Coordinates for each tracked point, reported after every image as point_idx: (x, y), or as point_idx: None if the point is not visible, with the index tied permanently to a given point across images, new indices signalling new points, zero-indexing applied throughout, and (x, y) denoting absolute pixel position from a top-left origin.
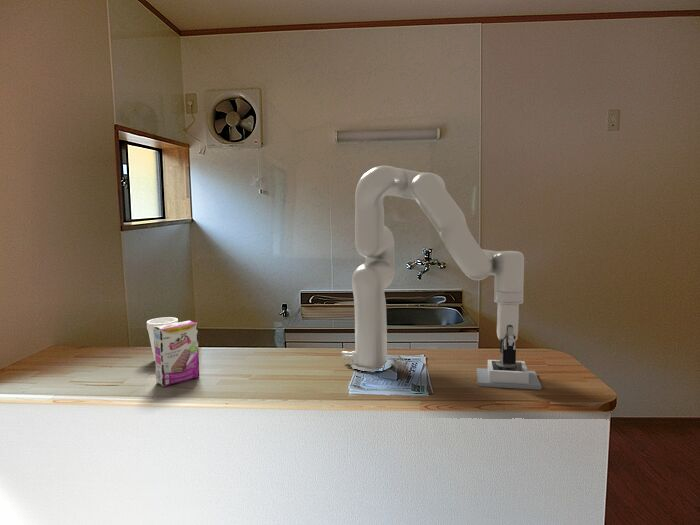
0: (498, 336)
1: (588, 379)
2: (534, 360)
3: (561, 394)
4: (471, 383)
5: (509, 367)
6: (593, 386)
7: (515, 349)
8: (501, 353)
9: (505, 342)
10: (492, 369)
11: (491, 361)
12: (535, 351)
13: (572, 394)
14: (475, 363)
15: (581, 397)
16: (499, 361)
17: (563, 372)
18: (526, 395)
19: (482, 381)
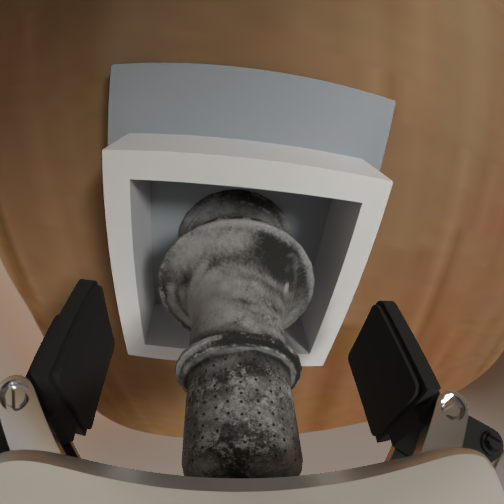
0: (21, 493)
1: None
2: (441, 351)
3: (111, 369)
4: (165, 29)
5: (160, 294)
6: None
7: (77, 432)
8: (236, 319)
9: (13, 447)
10: (140, 174)
11: (348, 199)
12: (491, 352)
13: (122, 388)
14: (488, 138)
15: (108, 395)
16: (246, 256)
17: (318, 403)
18: (58, 277)
19: (132, 91)
